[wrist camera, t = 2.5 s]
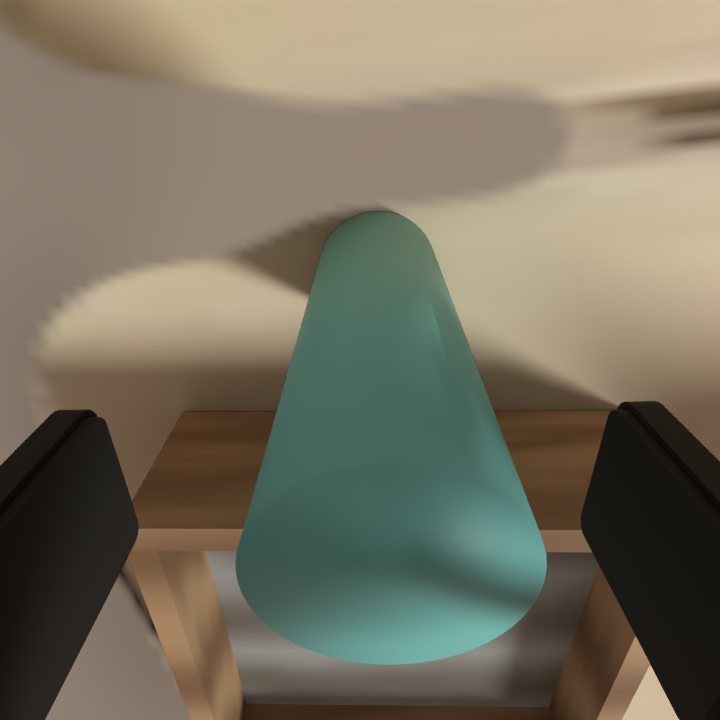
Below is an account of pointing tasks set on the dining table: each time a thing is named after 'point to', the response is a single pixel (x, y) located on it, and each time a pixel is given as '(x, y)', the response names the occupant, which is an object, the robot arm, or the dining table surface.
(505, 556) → the peg
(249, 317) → the dining table surface
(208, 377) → the dining table surface
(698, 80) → the dining table surface
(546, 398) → the dining table surface
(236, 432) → the box
